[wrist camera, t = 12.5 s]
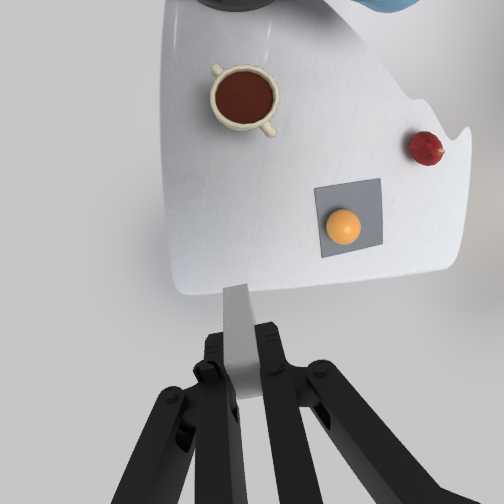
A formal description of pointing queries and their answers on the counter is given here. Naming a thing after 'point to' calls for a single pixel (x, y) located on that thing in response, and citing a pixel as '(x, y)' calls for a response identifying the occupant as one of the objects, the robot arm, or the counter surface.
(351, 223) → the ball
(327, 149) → the counter surface
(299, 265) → the counter surface
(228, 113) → the character mug
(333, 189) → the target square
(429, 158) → the onion
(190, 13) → the counter surface
